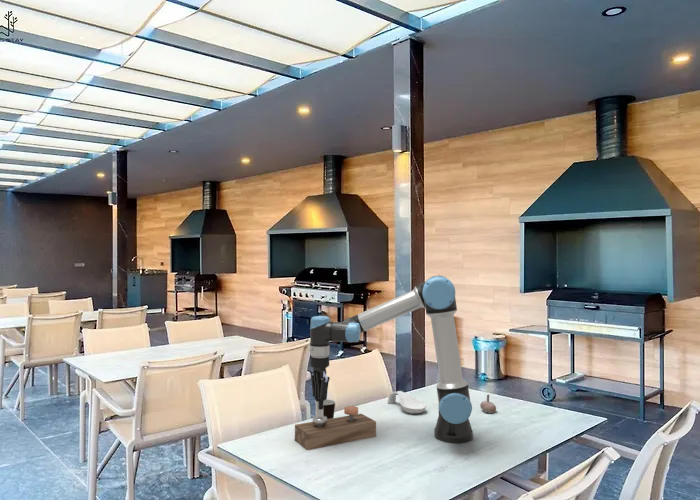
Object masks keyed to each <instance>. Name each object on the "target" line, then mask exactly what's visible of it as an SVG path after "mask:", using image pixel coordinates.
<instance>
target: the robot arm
mask: <svg viewBox="0 0 700 500" xmlns="http://www.w3.org/2000/svg"><path fill="white" fill-rule="evenodd" d="M421 308H423V309H425V314H426V315H427V316H428V317H429V318H430V322H431V329H432V335H433V336H432V337H433V343H434V349H435V357H436V363H437V371H438V378H439V380H438V383H437V384H436V386H435V387H436V393H437V401H438V418H437V420H436V424H435V427H434V431H433V432H434V435H433V436H434V437H435V438H436V439H437V440H439V441H442V442H446V443H452V444H455V443H456V444H457V443H458V444H462V443H467V442H470V441H472V440H473V439H474V432H473V429H472V426H471V423H470V419H469V418H470V416H471V414H472V411H473V405H472V402H471V398H470V390H469V386H470V385H469V381H468V380H467V379H466V378H463V371H462V364H461V356H460V348H459V342H458V336H457V330H456V321H455V313H457V311H458V308H457V299H456V288H455V286H454V284H453V282H452V281H451V280H450V279H448V278H447V277H446V276H443V275H434V276H431V277H429V278H428V279H426V281H424V282H422V283H420V284H418V285H416V286H414V288H413V289H412V290H411V291H408V292H406V293H403V294H401V295H400V296H397V297H395V298H392V299H390V300H387V301H385V302H382V303H381V304H378V305H376V306H374V307H372V308H369V309H367V310H364V311H362V312H360V313H357V314H356V315H353V316H350V317H348V318H345V319H344V320H343V321H337V322H336V321H331V320H330V317H329V316H324V315H316V316H315V315H314V316H312V317H311V318H310V324H309V325H310V326H309V327H310V328H309V334H310V336H309V337H310V338H309V339H310V340H309V341H310V344H309V345H310V347H309V348H308V349H309V351H310V352H309V355H310V357H309V366H310V367H311V368H313V370H312V371H310V373H309V374H310V378H311V391H312V397H313V398H314V400H315V402H316V407H315V416H316V418H321V417H323V401H324V400H326V399H327V397H328V389H329V382H330V379H331V377H330V376H327V368H328V367H330V357H329V356H330V347H331V346H330V342H336V343H337V342H341V343H342V342H343V343H359V341H360V339H361V334H362V333H364V332H366V331H369V330H371V329H373V328H376V327H377V326H380V325H382V324H385V323H388V322H390V321H392V320H395V319H398V318H399V317H402V316H404V315H406V314H409V313H411V312H414V311H416V310H418V309H421Z"/></svg>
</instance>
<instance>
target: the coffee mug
mask: <svg viewBox="0 0 700 500" xmlns="http://www.w3.org/2000/svg"><path fill="white" fill-rule="evenodd" d="M314 402H315V403H314V405H315V408H316V401H314ZM335 408H336V401H335V400H334V399H329V398H328V399H326V400H324V401H323V416H326V417H327V419H332V418H335V417H334V415H335Z"/></svg>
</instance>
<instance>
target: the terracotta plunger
mask: <svg viewBox="0 0 700 500" xmlns="http://www.w3.org/2000/svg"><path fill="white" fill-rule="evenodd" d="M343 410H344V414H345V415H346V416H349V422H350V421H353V415H356V414H359V406H357V405H347V406H345V407H344V409H343Z"/></svg>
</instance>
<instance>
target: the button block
mask: <svg viewBox="0 0 700 500" xmlns="http://www.w3.org/2000/svg"><path fill="white" fill-rule="evenodd" d="M376 437H377V421H376V420H374V419H372V418H370V417H368V416H367V415H365V414H363V413H358V414H356V415H353V421H350V422H349V415H343V416H338V417H334V418H332V419H327V424H325V425H322V426H321V427H318V425H314V424H313V421H309V422H304V423H298V424H297V423H296V424H294V441H295V442H296V443H298V444H299V445H300V446H302V447H303V448H304V449H305V450H306V451H310V450H315V449H318V448H325V447H330V446H335V445H336V446H337V445H341V444H345V442H346V443H350V442H355V441H361V440H366V439H370V438H376Z"/></svg>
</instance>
